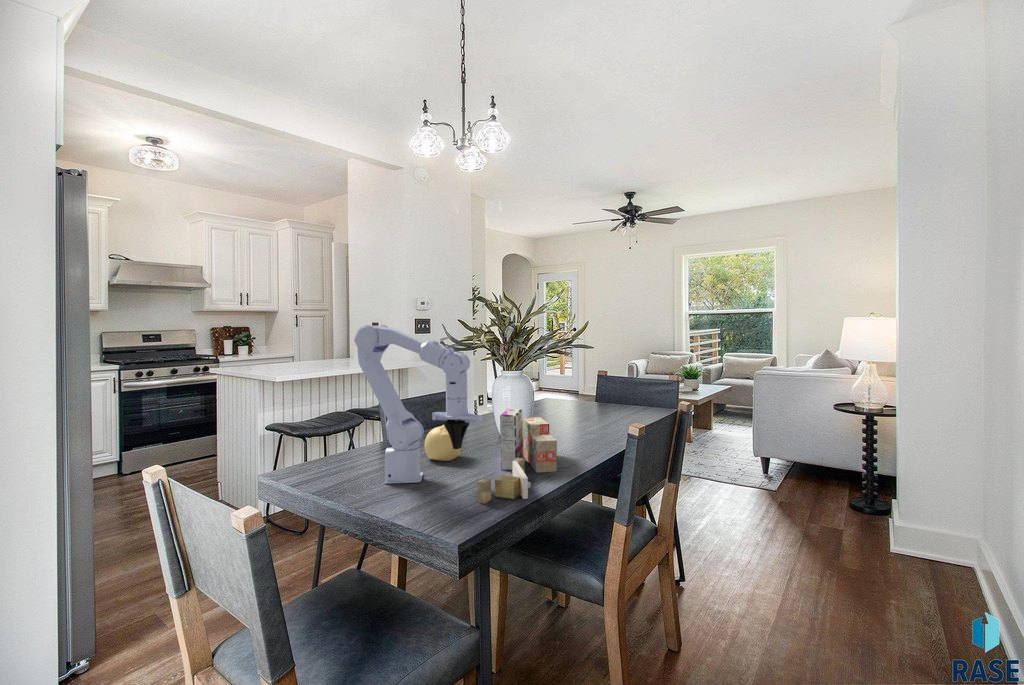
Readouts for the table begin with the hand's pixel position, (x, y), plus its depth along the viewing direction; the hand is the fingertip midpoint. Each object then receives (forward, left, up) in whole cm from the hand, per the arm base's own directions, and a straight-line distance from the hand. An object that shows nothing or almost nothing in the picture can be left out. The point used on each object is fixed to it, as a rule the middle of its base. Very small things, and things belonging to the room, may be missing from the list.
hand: (457, 448), depth 130 cm
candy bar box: (+16, +15, -10) cm, 24 cm away
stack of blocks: (+24, +18, -10) cm, 32 cm away
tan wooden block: (+13, -12, -10) cm, 20 cm away
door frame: (+12, -6, -9) cm, 16 cm away
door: (+17, -7, -9) cm, 20 cm away
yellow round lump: (-5, +25, -10) cm, 27 cm away
